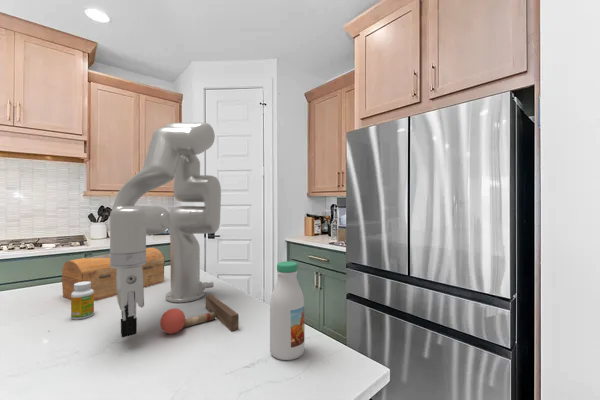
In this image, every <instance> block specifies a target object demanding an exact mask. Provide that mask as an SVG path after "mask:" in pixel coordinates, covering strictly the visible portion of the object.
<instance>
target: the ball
mask: <svg viewBox="0 0 600 400" xmlns="http://www.w3.org/2000/svg"><path fill="white" fill-rule="evenodd" d="M185 319H186V315H185V313H184V312H183V310H181V309H179V308H170V309H167V310H166V311H165V312H164V313H163V314H162V315H161V317H160V321H159V325H160V329H161V330H162V331H163V332H165V333H166V334H176V333H178V332H180V331H181V330H182V329H183V326H184V324H185Z"/></svg>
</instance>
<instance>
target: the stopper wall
mask: <svg viewBox="0 0 600 400" xmlns="http://www.w3.org/2000/svg"><path fill="white" fill-rule="evenodd" d="M205 309H206V310H207V311H208V313H211V312H215V315H216V318H215V319H217V320H218V321H219V322H220V323H221V324H222V325H223V326H225V328H227V329H228V331H230V332H235V331H239V319H240V318H239V313H238V312H236V311H235V310H233V309H232V308H231V307H230V306H228V305H227V304H226V303H224V302H222V300H220V299H219V298H218V297H216V296H214V294H205Z"/></svg>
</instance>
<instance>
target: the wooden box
mask: <svg viewBox="0 0 600 400" xmlns="http://www.w3.org/2000/svg"><path fill="white" fill-rule="evenodd" d="M165 261H166V260H165V257H164V255H163V253H162V251H161V250H159V249H158V248H155V247H146V264H145V265H142V271H143V285H144V287H145V288H148V287H151V285H152V286H155V284H156V285H158V284H163V283H164V281H165V263H166V262H165ZM85 281H89V282H91V287H90V289H93V290H94V302H98V301H100V300H103V299H107V298H111V297H115V296H117V290H116V268H111V267H110V253H106V254H98V255H94V256H88V257H82V258H77V259H70V260H67V261H65V262H64V264H63V265H62V274H61V283H62V285H61V287H62V297H63V298H64V299H67V300H69V301H71V294H72V292H74V291H75V290H74V284H75V283H78V282H85ZM162 282H163V283H162ZM147 286H148V287H147Z"/></svg>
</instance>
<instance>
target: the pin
mask: <svg viewBox="0 0 600 400" xmlns="http://www.w3.org/2000/svg"><path fill="white" fill-rule="evenodd" d="M216 319H217V318H216V315H215V312H211V313H210V312H207V313H204V314H199V315H196V316H192V317H189V318H185V324H184V326H183V328H187V327H190V326H195V325H198V324H202V323H206V322H210V321H212V320H216ZM183 328H182V329H183Z"/></svg>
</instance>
